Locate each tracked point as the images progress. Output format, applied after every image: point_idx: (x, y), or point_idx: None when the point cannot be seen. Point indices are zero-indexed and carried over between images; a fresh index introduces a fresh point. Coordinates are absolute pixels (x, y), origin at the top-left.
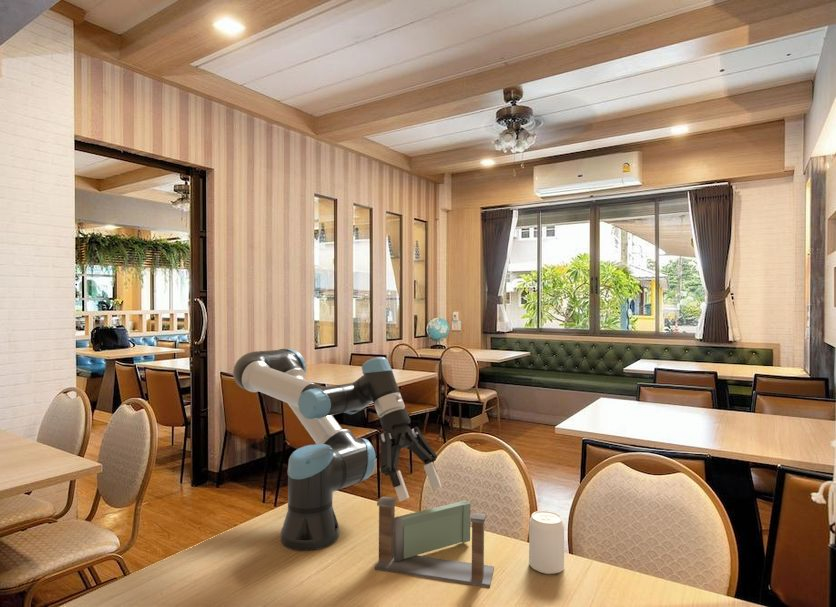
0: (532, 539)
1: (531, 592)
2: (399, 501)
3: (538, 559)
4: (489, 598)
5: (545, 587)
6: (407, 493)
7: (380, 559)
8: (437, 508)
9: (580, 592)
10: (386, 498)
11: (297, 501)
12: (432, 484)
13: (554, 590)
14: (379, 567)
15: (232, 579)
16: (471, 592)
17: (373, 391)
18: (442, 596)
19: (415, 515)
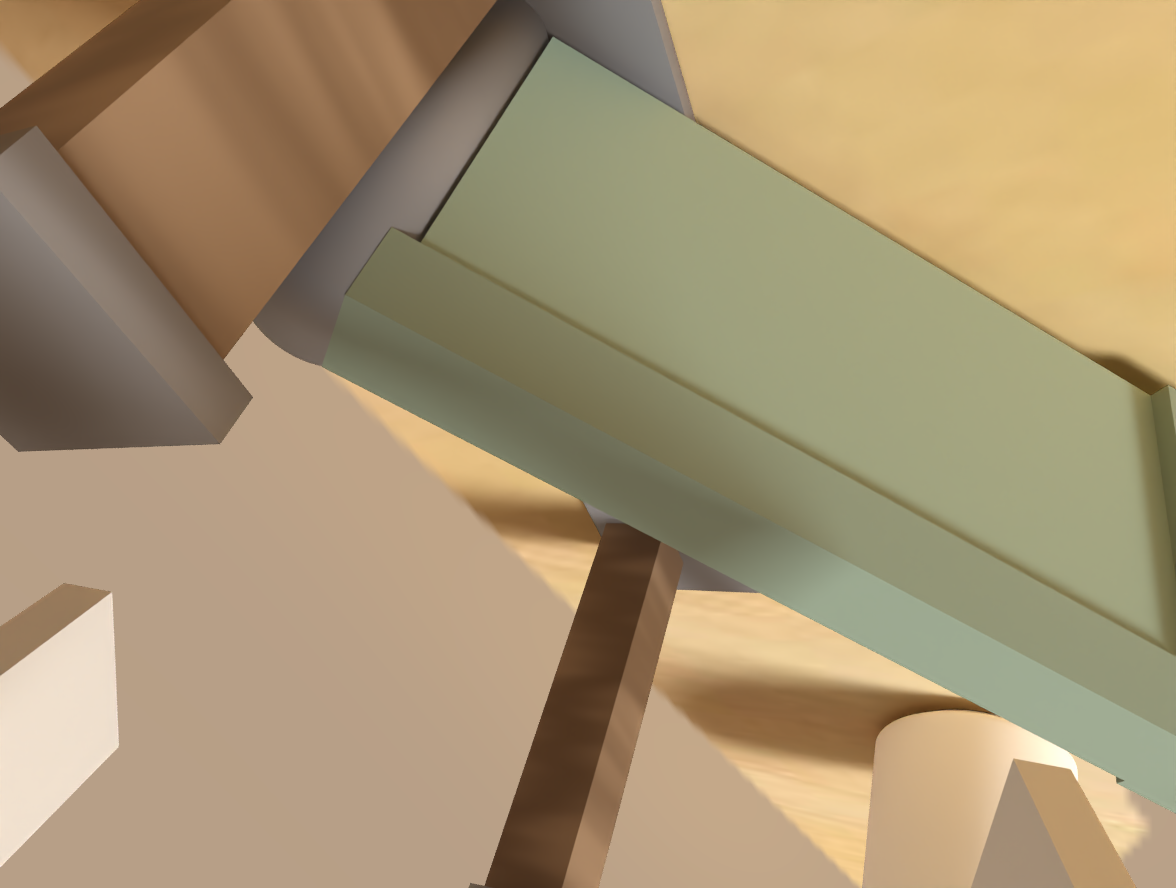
0: (892, 877)
1: (701, 686)
2: (60, 588)
3: (874, 790)
4: (547, 576)
5: (772, 722)
6: (64, 785)
7: None
8: (874, 608)
9: (803, 790)
10: (28, 299)
11: None
12: (1031, 872)
13: (767, 740)
14: None
15: None
16: (536, 517)
17: None
18: (405, 420)
19: (520, 454)
